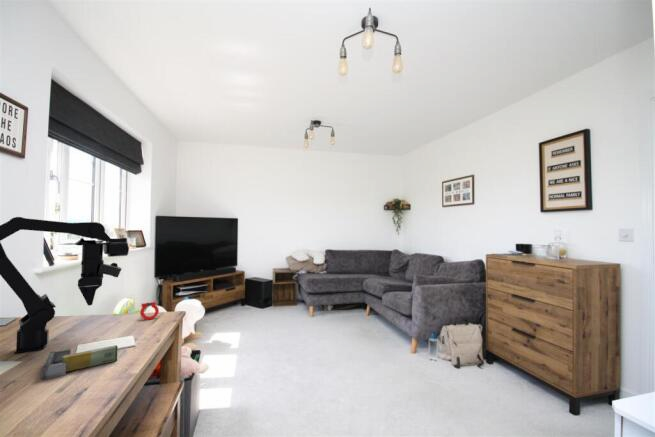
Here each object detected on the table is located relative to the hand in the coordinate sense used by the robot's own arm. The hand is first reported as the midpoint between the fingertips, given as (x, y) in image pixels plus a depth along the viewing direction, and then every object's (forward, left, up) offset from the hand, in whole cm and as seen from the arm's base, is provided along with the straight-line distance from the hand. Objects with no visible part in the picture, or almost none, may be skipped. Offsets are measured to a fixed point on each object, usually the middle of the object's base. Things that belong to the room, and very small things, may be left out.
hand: (90, 302), depth 103 cm
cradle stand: (-6, -24, -12) cm, 28 cm away
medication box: (+2, -27, -12) cm, 29 cm away
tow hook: (+19, +14, -14) cm, 27 cm away
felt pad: (+5, -13, -12) cm, 18 cm away
